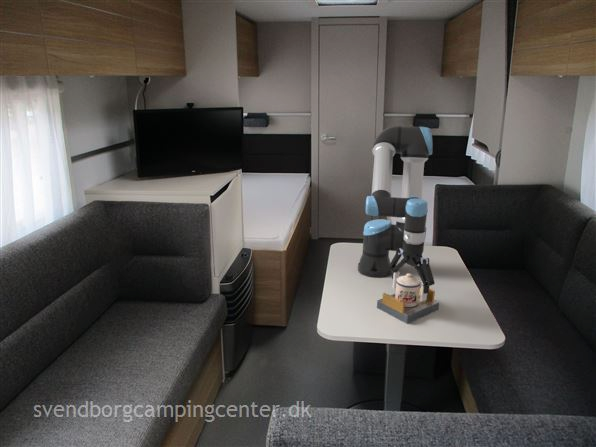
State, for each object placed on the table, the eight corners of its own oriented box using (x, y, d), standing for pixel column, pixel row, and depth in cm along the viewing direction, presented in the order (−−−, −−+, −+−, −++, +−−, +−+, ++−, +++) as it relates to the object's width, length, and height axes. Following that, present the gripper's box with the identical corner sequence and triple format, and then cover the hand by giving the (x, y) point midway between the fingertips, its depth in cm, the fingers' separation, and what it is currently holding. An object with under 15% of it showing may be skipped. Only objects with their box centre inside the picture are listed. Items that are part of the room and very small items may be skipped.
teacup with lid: (394, 306, 188) (396, 278, 185) (394, 295, 197) (396, 268, 193) (427, 309, 186) (430, 280, 182) (426, 298, 195) (428, 271, 191)
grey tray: (376, 307, 193) (378, 291, 191) (408, 295, 204) (409, 279, 202) (406, 323, 182) (408, 306, 180) (438, 309, 193) (440, 293, 190)
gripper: (381, 234, 192) (378, 284, 198) (434, 253, 173) (428, 309, 179) (395, 230, 196) (391, 280, 203) (448, 249, 177) (442, 303, 184)
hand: (408, 293), depth 191 cm, fingers open, 13 cm apart
